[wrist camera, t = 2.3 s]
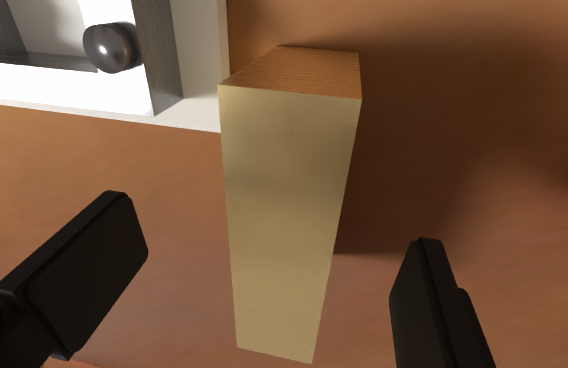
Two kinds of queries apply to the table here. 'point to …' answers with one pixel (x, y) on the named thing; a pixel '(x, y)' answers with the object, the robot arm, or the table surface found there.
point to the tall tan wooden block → (286, 189)
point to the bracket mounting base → (100, 61)
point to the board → (190, 48)
